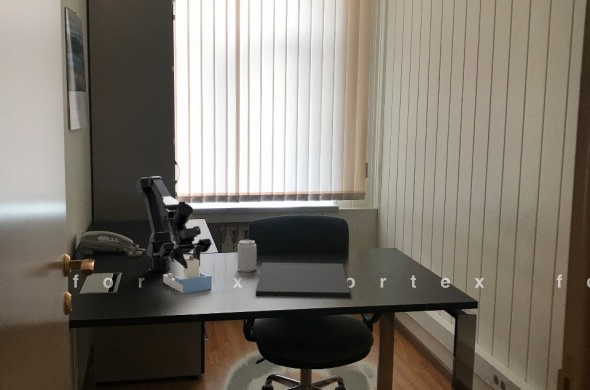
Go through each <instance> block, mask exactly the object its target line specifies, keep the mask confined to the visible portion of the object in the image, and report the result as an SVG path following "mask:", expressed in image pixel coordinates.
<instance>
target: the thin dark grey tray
mask: <svg viewBox="0 0 590 390" xmlns="http://www.w3.org/2000/svg"><path fill="white" fill-rule="evenodd" d="M345 271H346V270H345V268H344V265H343V263H319V262H318V263H316V262H315V263H311V262H310V263H309V262H308V263H305V262H262V264H261V268H260V272H259V276H258V280H257V284H256V289H255V297H280V298H281V297H287V298H288V297H291V298H292V297H293V298H294V297H295V298H298V297H299V298H343V299H344V298H346V299H347V298H351V291H350V286H349V283H348V279H347V277H346V272H345Z"/></svg>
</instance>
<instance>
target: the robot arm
mask: <svg viewBox="0 0 590 390" xmlns="http://www.w3.org/2000/svg"><path fill="white" fill-rule="evenodd" d="M135 187H136V189H137V191H138V194H139V196H140V197H141V198H142V199H143V200H144V203H145V207H146V212H147V217H148V221H149V225H150V230H151V235H150V238H149V239H148V241H149V243H148V246H147V247H146V256H148V257H150V268H149V269H147V270H148V272H153V273H164V272H167V271H169V270H171V267H170V259H171V258H173V259H174V261H176V262H177V263H179V264H180V265H181V266H182V267H183V269H184V268H186V269H187V268H188V267H187V263H186V261H185V256H184V254H183V253H182V250H190V249H192V254H191V256H193V258H196V259H198V260H199V267H201V253H207V252H208V251H209V249H210V248H211V246H212V244H213V243H212V240H211V238H209V237H206V238H199V240H198V241H197V243H195V238H196V237H198V236H200V235H201V234H202V231H201V227H200V225H195V226H193V227H190V228H188V227H187V225H186V224H187V223H189V220H190V218H191V216H192V215H193V212H194V210H193V207H192V206H191V205H190V204H188V203H186V201H184V200H183V201H179V200H178V199H175V197H172V196H171V194H170V192H169V190H168V189H167V186H166V185H165V183H164V181H163V178H162V176H159V175H156V176H153V175H152V176H148V177H139V178H138V179H137V180H136V182H135ZM159 204H160V206H159ZM159 207H160V208H159ZM162 218H163V219H164V220H168V219H170V220H169V221H168V225H167V229H168V230H169V229H170V232H171V233H170V232H169V231H166V230H165V229H164V224H163V221H162ZM171 235H172V236H173V237H172V238H171ZM174 242H175V243H174ZM193 242H194V243H193ZM174 244H176V245H174ZM169 255H171V256H169ZM169 257H170V259H169Z"/></svg>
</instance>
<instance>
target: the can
mask: <svg viewBox="0 0 590 390" xmlns="http://www.w3.org/2000/svg"><path fill="white" fill-rule="evenodd" d="M256 269H257V244H256V243H255V240H252V239H242V240H240V241H239V242H238V244H237V270H239V272H242V273H252V272H254V271H255V270H256Z"/></svg>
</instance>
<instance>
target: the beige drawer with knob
mask: <svg viewBox="0 0 590 390" xmlns="http://www.w3.org/2000/svg"><path fill="white" fill-rule="evenodd" d="M185 261H186V263H187V267H188V268H187V269H186V268H184V267H183V279H189V278H195V277H199V275H200V266H199V260H198V259H196V258H193V256H192V255H190V256H189V257H188V258H186V259H185Z"/></svg>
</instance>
